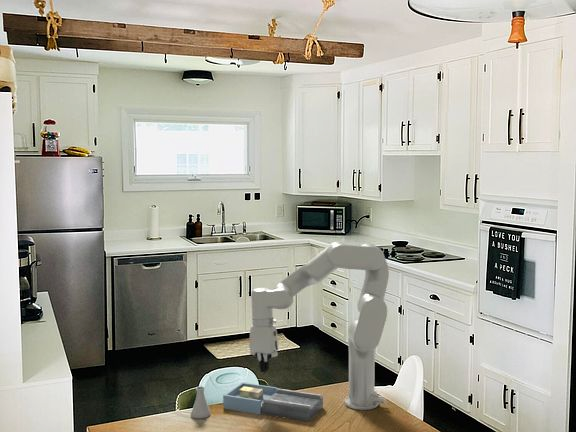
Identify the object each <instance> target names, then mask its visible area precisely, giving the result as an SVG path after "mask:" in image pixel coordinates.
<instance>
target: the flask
mask: <svg viewBox="0 0 576 432" xmlns="http://www.w3.org/2000/svg"><path fill="white" fill-rule="evenodd" d="M205 388H206V387H205V386H196V387H195V391H196V395H195V396H196V398H195V400H194V404H193V406H192V410H191V412H190V418H195V419H206V418H208V417H209V416H211V410H210V408H209V405H208V403H207V399H206V397H205Z"/></svg>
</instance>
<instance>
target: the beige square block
mask: <svg viewBox="0 0 576 432" xmlns="http://www.w3.org/2000/svg"><path fill="white" fill-rule="evenodd" d="M261 398H263V389H257V388H253V389H251V390H250V391H249V399H255V400H260V399H261Z"/></svg>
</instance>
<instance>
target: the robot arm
mask: <svg viewBox="0 0 576 432" xmlns="http://www.w3.org/2000/svg"><path fill="white" fill-rule="evenodd" d="M337 269H345V270H360V271H365V274H364V280H363V285H362V288H361V291H360V295H359V298H358V301H357V306H356V307H357V311H358V312H359V317H358V319H355V320H353V321H352V322H351V323H350V325H349V326H348V330H347V342H348V343H347V344H348V396H347V397H346V398H344V405H345V406H346V407H348V408H349V409H352V410H353V409H354V410H359V411H366V410H368V411H369V410H373V409H375V408H377V407H378V406H379V404H383V405H384V404H386V401H387V399H386V398H385V396H384V395H379V394H377V391H376V390H375V379H376V378H375V364H376V363H375V361H376V359H375V350H376V348H378V346H379V344H380V341H381V338H382V335H383V332H384V328H385V324H386V321H387V317H388V306H387V304H386V302H385V301H384V300H385V299H384V298H385V295H386V291H387V287H388V283H389V276H390V274H389V273H390V272H389V271H390V269H389V266H388V263H387V260H386V257H385V254H384V252H383V250H382V249H381V248H379V246H376V245H375V244H373V243H369V242H367V243H366V242H365V243H363V244H361V245H351V244H345V243H344V242H341V241H334V242H332V243H330V244H329V245H327V246H326V247H325V248H324V249H322V250H321V251H320V252H319V253H318V254H316V255H315V256H314V257H313V258H312V259H310V260H309V261H307V262H306V263H305V264H303V265H302V266H300V267H299V268H298V269H296V270H295V271H293V272H292V273H290V274H289V275H288V276H286V277H284V279H283V280H281V281H280V282H279V283H277V284H276V286H275V287H274V288H273V289H270V288H269V287H256V288H254V289H252V291H251V294H250V295H251V296H250V297H251V319H252V320H251V321H252V325H251V326H250V332H249V342H248V344H249V351H250V355H252V356H255V358H257V360H258V362H259V369H260V372H261V373H267V371H269V369H270V360H271V358H276V357H277V356H278V355H279V354H278V351H279V338H278V331H277V328H276V325H275V324H276V323H277V320H276V319H275V318H274V316H273V309H277V310H286V309H289V308H290V307H292V305H293V303H294V297H295V296H296V295H298V294H299V293H300V292H301V291H303V290H304V289H307V288H308V287H310V286H313V285H317V284H319V283H321V282H323V281H324V280H325V279H327V277H329V276H330V275H331V274H332V273H333V272H334V271H337Z"/></svg>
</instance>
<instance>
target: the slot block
mask: <svg viewBox="0 0 576 432" xmlns="http://www.w3.org/2000/svg"><path fill="white" fill-rule="evenodd" d="M323 408H324V397H323V394H319V393H312V392H304V391H298V390H291V389H283V388H278V387H277V389H276V393H274V394H273V395H272V396H271V397H269V398H268V399H267V398H264V399H263V403H262V415H263V414H265V416H269V415H271V416H270V417H275V416H278V417H277V418H281V417H285V418H284V419H287V418H289V420H293V419H294V421H299V422H307V423H309V422H311V421H312V419H314V417H316V416H317V415H318V413H319V412H320V411H321V410H323Z"/></svg>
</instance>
